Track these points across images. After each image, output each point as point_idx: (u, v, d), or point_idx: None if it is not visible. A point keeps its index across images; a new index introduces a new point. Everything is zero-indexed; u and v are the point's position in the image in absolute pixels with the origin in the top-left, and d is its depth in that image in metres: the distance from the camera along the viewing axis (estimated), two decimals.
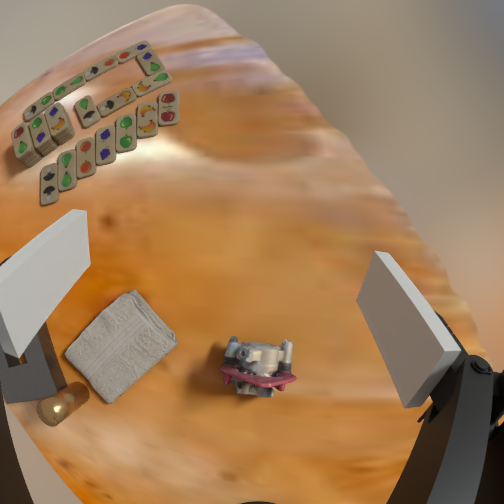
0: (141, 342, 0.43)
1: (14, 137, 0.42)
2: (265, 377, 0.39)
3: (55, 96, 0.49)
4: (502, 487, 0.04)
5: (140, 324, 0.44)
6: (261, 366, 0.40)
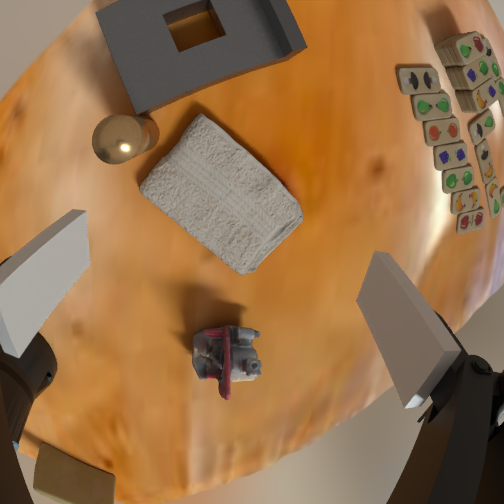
0: (240, 235, 0.36)
1: (473, 37, 0.26)
2: None
3: (497, 82, 0.34)
4: (502, 487, 0.04)
5: (263, 232, 0.37)
6: (237, 375, 0.39)
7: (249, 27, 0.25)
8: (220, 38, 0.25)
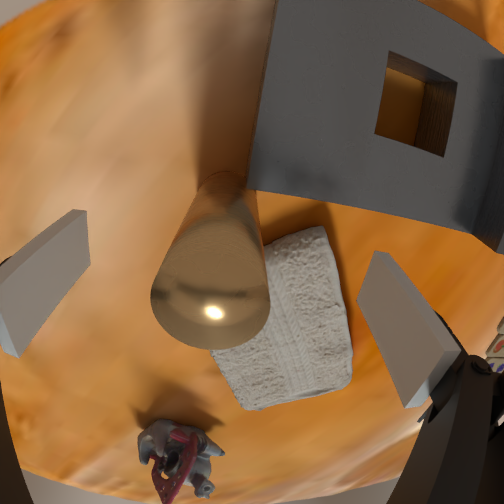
0: (270, 383, 0.26)
1: None
2: None
3: None
4: (502, 487, 0.04)
5: (297, 387, 0.27)
6: (183, 482, 0.28)
7: (470, 167, 0.16)
8: (434, 157, 0.15)
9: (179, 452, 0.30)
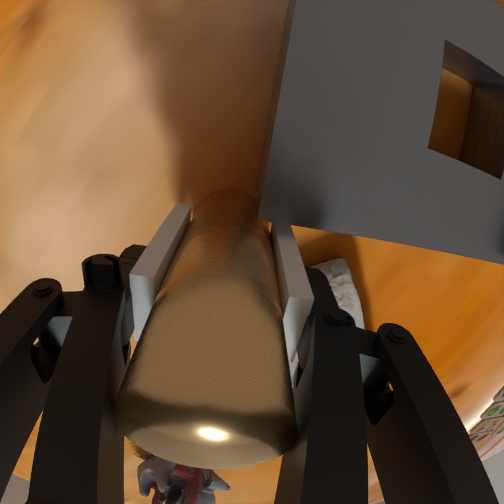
0: None
1: None
2: None
3: None
4: (415, 470, 0.05)
5: None
6: None
7: None
8: (492, 179, 0.11)
9: (182, 486, 0.26)
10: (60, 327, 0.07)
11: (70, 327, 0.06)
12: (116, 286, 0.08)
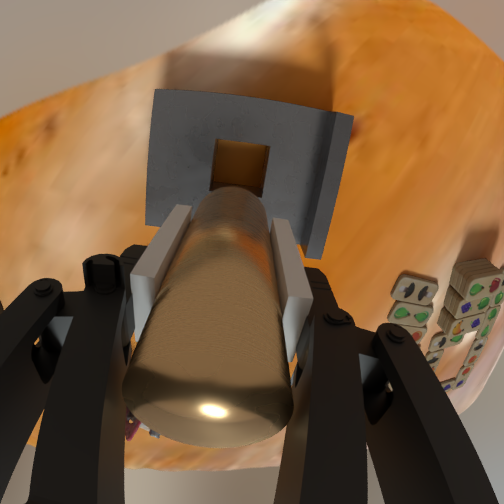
0: None
1: (495, 278, 0.34)
2: None
3: (492, 308, 0.42)
4: (414, 470, 0.05)
5: None
6: (142, 426, 0.43)
7: (287, 200, 0.30)
8: None
9: None
10: (60, 328, 0.07)
11: (71, 327, 0.06)
12: (117, 286, 0.08)
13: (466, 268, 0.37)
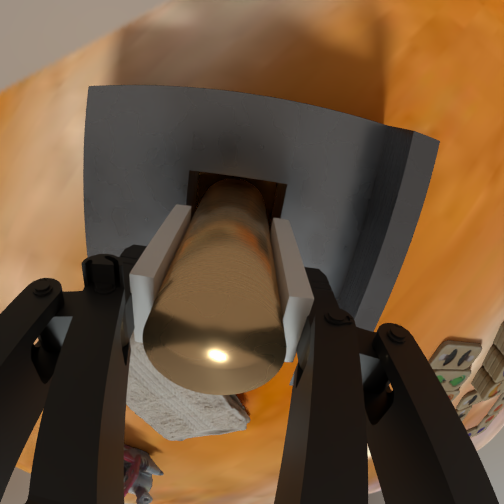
0: (174, 423, 0.29)
1: None
2: None
3: None
4: (415, 471, 0.05)
5: (199, 427, 0.29)
6: (128, 491, 0.32)
7: None
8: None
9: (127, 468, 0.34)
10: (60, 327, 0.07)
11: (70, 327, 0.06)
12: (116, 286, 0.08)
13: None
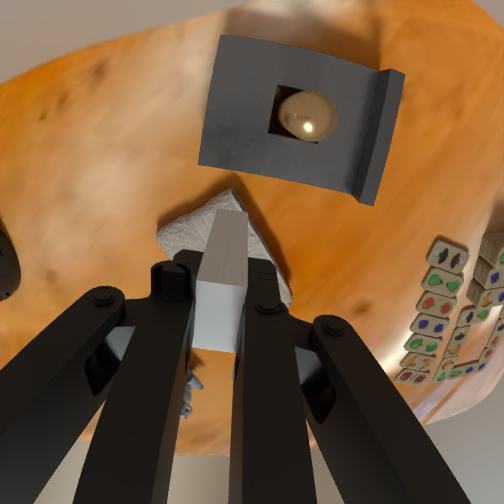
0: None
1: None
2: None
3: None
4: (369, 473, 0.05)
5: None
6: None
7: (341, 149, 0.29)
8: (310, 144, 0.29)
9: None
10: (123, 338, 0.07)
11: (134, 333, 0.06)
12: (185, 295, 0.08)
13: (495, 237, 0.35)
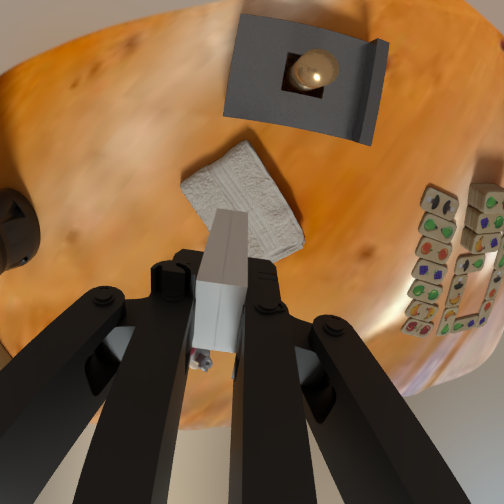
0: (249, 245, 0.44)
1: None
2: None
3: None
4: (369, 472, 0.05)
5: (268, 247, 0.45)
6: None
7: (341, 103, 0.34)
8: (316, 98, 0.34)
9: None
10: (123, 338, 0.07)
11: (134, 333, 0.06)
12: (185, 295, 0.08)
13: (480, 186, 0.40)
